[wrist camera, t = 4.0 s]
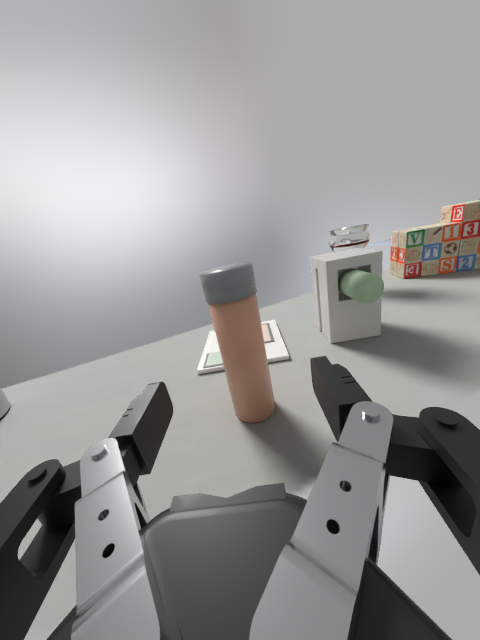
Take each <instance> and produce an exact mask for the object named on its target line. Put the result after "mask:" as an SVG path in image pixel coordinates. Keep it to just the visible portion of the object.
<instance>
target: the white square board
mask: <svg viewBox="0 0 480 640" xmlns="http://www.w3.org/2000/svg"><path fill="white" fill-rule="evenodd" d="M261 326H262V332H263V338H264V344H265V350H266V355H267V361H268V363H269V362H275V361H281V360H287V359H289V354H288V352H287V349H286V347H285V344H284V342H283V339H282V337H281V334H280V332H279V329H278V327H277V324H276V322H275V320H271V321H265V322H261ZM221 370H225V369H224V365H223V361H222V357H221V353H220V349H219V345H218V341H217V337H216V333H215V331H210V333H209V336H208V339H207V342H206V345H205V348H204V351H203V354H202V357H201V360H200V363H199V366H198V369H197V372H198V374H202V373H208V372H214V371H221Z"/></svg>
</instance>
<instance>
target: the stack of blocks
mask: <svg viewBox="0 0 480 640" xmlns="http://www.w3.org/2000/svg"><path fill="white" fill-rule="evenodd" d="M478 268H480V199H479V200H477V201H471V202H466V203H461V204H456V205H450V206H445V207H442V211H441V219H440V223H438V224H433V225H427V226H420V227H415V228H410V229H404V230H399V231H393V232H392V241H391V264H390V273H391V274H393V275H395V276H398V277H400V278H403V279H405V278H412V277H419V276H428V275H435V274H443V273H451V272H457V271H464V270H471V269H478Z"/></svg>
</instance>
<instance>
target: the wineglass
mask: <svg viewBox="0 0 480 640" xmlns="http://www.w3.org/2000/svg"><path fill="white" fill-rule="evenodd" d="M368 226H369V224H364V225H357V226H351V227H346V228H341V229H336V230H332V231H329V232H330V234H331V238H330V241H329V244H330V247H331V250H332V251H333V252H338V251H343V250H348V249H353V248H361V249H364V248H365V247H366V246H367V244H368V242H369V237H370V235H369V232H368V231H367V228H368Z"/></svg>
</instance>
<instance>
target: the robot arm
mask: <svg viewBox="0 0 480 640" xmlns="http://www.w3.org/2000/svg"><path fill="white" fill-rule="evenodd" d="M310 362H311V373H312V383H313V388H314V392H315V395H316V397H317V399H318V401H319V404H320V406H321V408H322V410H323V412H324V414H325V417H326V419H327V421H328V423H329V425H330V427H331V430H332V432H333V434H334V436H335V438H336V440H337V443H332V444H331V446H330V448H329V450H328V453H327V455H326V458H325V460H324V462H323V465H322V467H321V470H320V472H319V474H318V477H317V479H316V482H315V484H314V486H313V489H312V491H311V494H310V496H309V498H308V501H307V500H306V499H303V498H301V497H299V496H296V495H292V494H288V493H286V492H285V486H284V483H280V484H272V485H264V486H256V487H253V488H251V489H249V490H246V491H244V492H241V493H239V494H236V495H234V496H231V497H229V498H223V497H218V496H212V495H206V494H201V493H198V494H190V495H182V496H174V497H173V500H172V504H171V508H169V509H167V510H165V511H163V512H161V513H160V514H159V515H157V516H156V517H154V518H153V519H152V520H151V521H150V518H149V515H148V512H147V509H146V506H145V502H144V499H143V496H142V493H141V490H140V487H139V484H138V482H137V480H138V478H139V475H145V474H150V473H151V470H152V468H153V465H154V462H155V460H156V457H157V454H158V452H159V449H160V447H161V444H162V441H163V439H164V436H165V434H166V431H167V428H168V426H169V423H170V421H171V418H172V415H173V405H172V402H171V399H170V396H169V394H168V391H167V388H166V385H165V383H164V382H158V383H152V384H148V385H147V387H146V388H145V390H144V391H143V393H142V394H141V395H139V396H138V397H137V398H135V399H134V400H133V401H132V402H131V404H130V405H129V407H128V408H127V411H125V413H124V414H123V417H121V419H120V420H119V422H118V423H117V425H116V426H115V428H114V430H113V431H112V433H111V434H110V436H109V437H108V439H104V440H101V441H99V442H97V443H96V444H94V445H93V446H91V447H90V448H89V449H88V450H87V451H86V452H85V453H84V455H83V456H82V458H81V460H79V461H77V462H74V463H72V464H69V465H67V466H64V467H63V466H62V465H61V463H60V462H59V461H58V460H57V459H52V460H48V461H45V462H43V463H41V464H39V465H38V466H36V467H34V468H33V469H32V470H30V471H29V472H28V473H27V474H26V475H25V476H24V477H23V478H22V479H21V480H20V481H19V482H18V484H17V485H16V486H15V487H14V488H13V489H12V491H11V492H10V493H9V494H8V495H7V496H6V498H5V499H4V500H3V501H2V502H1V503H0V640H24V638H25V636H26V634H27V632H28V630H29V628H30V626H31V624H32V622H33V620H34V618H35V616H36V614H37V612H38V610H39V608H40V606H41V604H42V603H43V601H44V599H45V597H46V595H47V593H48V591H49V589H50V587H51V585H52V583H53V581H54V579H55V577H56V575H57V573H58V571H59V569H60V567H61V565H62V563H63V561H64V559H65V557H66V555H67V553H68V551H69V549H70V547H71V545H72V543H73V541H74V539H75V542H76V589H77V605H76V606H75V607H74V608H73V609H72V610H71V612H70V613H69V614H68V615H67V616H66V617H65V619H64V620H63V621H62V622H61V623H60V624H59V626H58V627H57V628H56V629H55V630H54V631H53V633H52V634H51V635H50V636H49V637H48V638H47V640H452V639H451V638H450V637H449V636H448V635H447V634H446V633H445V632H444V631H443V630H442V629H441V628H439V626H438V625H437V624H436V623H434V621H433V620H432V619H431V618H430V617H429V616H427V614H426V613H425V612H424V611H422V610H421V609H420V608H419V607H418V606H417V605H416V604H415V603H414V602H413V601H412V600H411V599H410V598H409V597H408V596H407V595H406V594H405V593H404V592H403V591H402V590H401V589H400V588H399V587H398V586H397V585H396V584H395V583H394V582H393V581H392V580H391V579H390V578H389V577H388V576H387V575H386V574H385V573H384V572H383V571H382V570H381V569H380V568H379V567H378V566H377V563H378V556H379V549H380V543H381V534H382V524H383V517H384V511H385V505H386V498H387V492H388V486H389V479H390V475H391V476H396V477H402V478H407V479H413V480H418V481H419V482H420V484H421V486H422V487H423V489H424V490H425V492H426V493H427V495H428V496H429V498H430V500H431V501H432V503H433V504H434V506H435V507H436V509H437V510H438V512H439V513H440V515H441V516H442V518H443V519H444V521H445V523H446V524H447V526H448V527H449V528H450V530H451V532H452V533H453V535H454V536H455V538H456V539H457V541H458V542H459V544H460V546H461V547H462V549H463V550H464V552H465V553H466V555H467V556H468V557H469V559H470V561H471V562H472V564H473V565H474V567H475V569H476V570H477V572H478V573H479V575H480V430H479V429H478V428H477V427H476V426H474V425H473V424H472V423H471V422H470V421H469V420H468V419H466V418H465V417H464V416H462V415H460V414H458V413H457V412H454V411H452V410H449V409H445V408H440V407H429V408H425V409H423V410H422V411H421V412H420V415H419V418H417V417H407V416H398V415H394V414H392V413H391V412H390V411H389V410H388V409H387V408H386V407H384V406H382V405H380V404H378V403H375V402H372V400H371V399H370V398H369V397H368V395H367V394H366V393H365V391H364V390H363V389H362V388H361V386H360V385H359V384H358V383H357V382H356V380H355V379H354V377H352V375H351V374H350V372H349V371H348V370H347V369H346V368H344V367H343V366H341V365H339V364H334V365H332V364H331V363H330V362H329V360H328V359H327V357H326V356H322V357H316V358H311V360H310ZM10 405H11V404H10V402H9V401H8V399H7V398H6V396H5V395H4V393H3V391H2V390H1V388H0V418H1V417H2V416H3V415H4V414H5V413H6V412H7V411H8V409H9V408H10ZM37 518H38V520H39V521H40V522H41V524H42V527H41V528H40V530H39V531H38V533H37V534H36V536H35V538H34V539H33V541H32V542H31V544H30V545H29V547H28V548H27V550H26V552H25V553H24V555H23V556H22V558H21V559H20V561H19V559H18V555H17V554H18V548H19V546H20V543H21V541H22V540H23V538H24V537H25V535H26V534H27V532H28V531H29V529H30V528H31V526H32V525H33V523H34V522H35V521H36V519H37Z"/></svg>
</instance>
